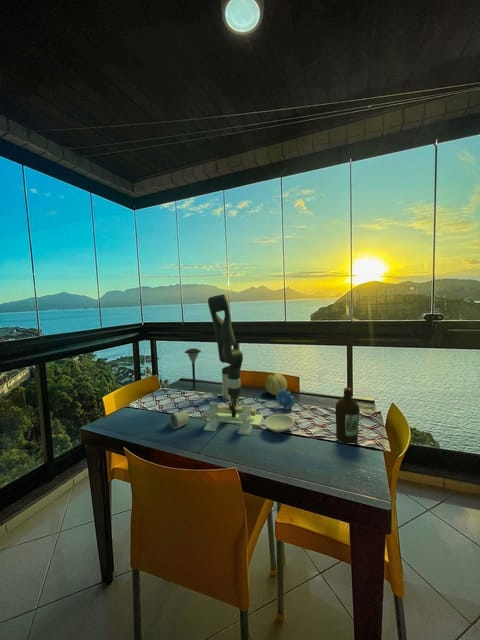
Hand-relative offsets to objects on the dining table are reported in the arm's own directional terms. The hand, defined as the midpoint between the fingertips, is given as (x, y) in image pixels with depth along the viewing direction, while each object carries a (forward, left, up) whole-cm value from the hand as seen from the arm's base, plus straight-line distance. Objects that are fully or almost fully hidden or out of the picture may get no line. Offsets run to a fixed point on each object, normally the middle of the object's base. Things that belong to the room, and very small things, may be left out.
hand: (234, 415), depth 158 cm
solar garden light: (-39, -42, -2) cm, 57 cm away
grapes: (-18, +26, -2) cm, 32 cm away
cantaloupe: (-41, +18, -2) cm, 45 cm away
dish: (+9, +26, -2) cm, 28 cm away
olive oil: (+11, +58, -2) cm, 59 cm away
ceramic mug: (+14, -28, -2) cm, 31 cm away
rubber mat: (0, 0, -2) cm, 2 cm away
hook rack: (+13, 0, -2) cm, 13 cm away
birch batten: (0, 0, +1) cm, 1 cm away
